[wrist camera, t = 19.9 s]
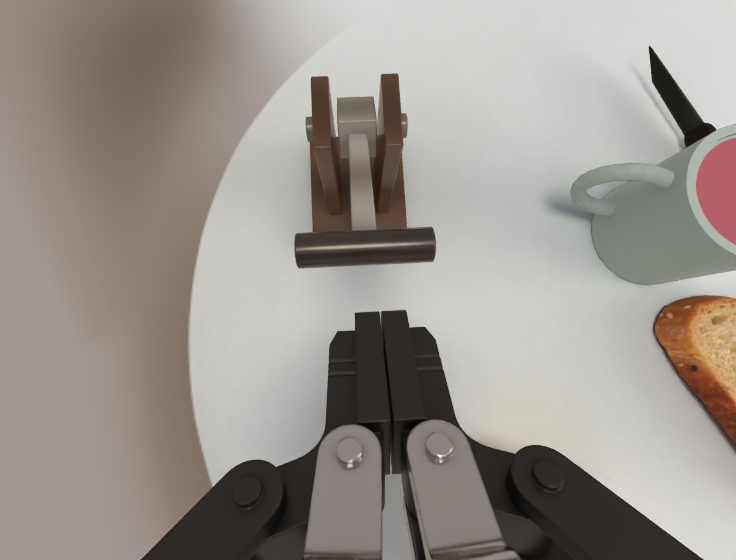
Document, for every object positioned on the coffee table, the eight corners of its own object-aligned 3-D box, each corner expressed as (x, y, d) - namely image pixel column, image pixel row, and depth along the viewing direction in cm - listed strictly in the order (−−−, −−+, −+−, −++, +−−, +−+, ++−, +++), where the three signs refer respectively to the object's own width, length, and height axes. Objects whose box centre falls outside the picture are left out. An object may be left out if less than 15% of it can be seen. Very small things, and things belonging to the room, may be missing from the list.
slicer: (406, 247, 33) (434, 192, 21) (315, 251, 33) (286, 198, 20) (399, 140, 35) (420, 28, 22) (311, 144, 35) (282, 32, 22)
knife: (624, 68, 36) (647, 44, 33) (632, 64, 36) (656, 40, 34) (727, 219, 34) (762, 208, 31) (736, 214, 34) (771, 203, 31)
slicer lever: (431, 274, 17) (439, 237, 16) (300, 281, 17) (291, 244, 15) (402, 131, 25) (404, 95, 23) (310, 135, 25) (305, 98, 23)
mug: (701, 200, 34) (838, 145, 25) (684, 298, 33) (821, 281, 23) (554, 157, 35) (631, 86, 25) (531, 252, 34) (602, 216, 24)
